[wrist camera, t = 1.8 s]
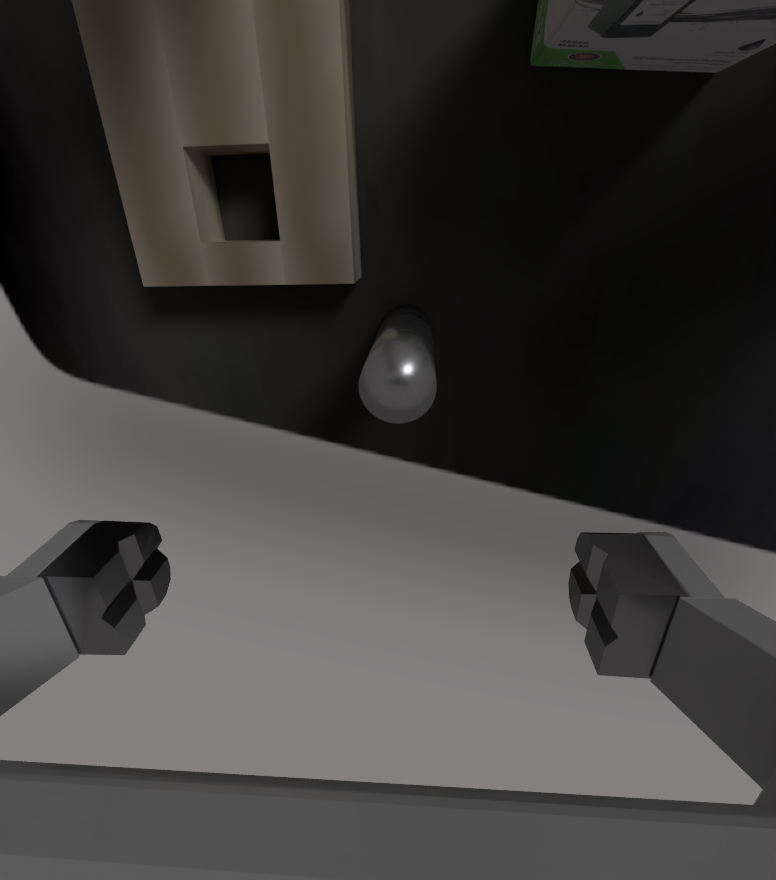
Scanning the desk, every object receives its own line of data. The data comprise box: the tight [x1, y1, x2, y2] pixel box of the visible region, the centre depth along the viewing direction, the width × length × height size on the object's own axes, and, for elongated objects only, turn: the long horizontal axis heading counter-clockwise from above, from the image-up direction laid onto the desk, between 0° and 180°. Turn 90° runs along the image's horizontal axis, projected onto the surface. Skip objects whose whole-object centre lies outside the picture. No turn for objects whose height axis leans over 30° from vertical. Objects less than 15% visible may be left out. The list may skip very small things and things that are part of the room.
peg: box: [359, 304, 437, 423], centre depth 22 cm, size 3×3×10 cm
